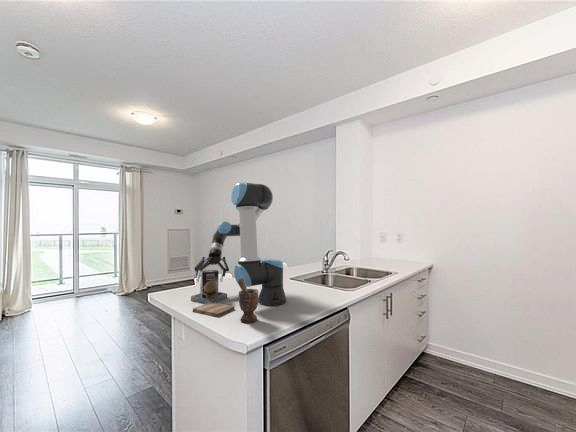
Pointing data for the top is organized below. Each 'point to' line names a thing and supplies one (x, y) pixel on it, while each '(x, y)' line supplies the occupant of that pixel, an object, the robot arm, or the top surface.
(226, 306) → the walnut board
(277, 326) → the top surface
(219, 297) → the holder ring
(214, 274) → the coffee box
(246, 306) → the mortar and pestle
